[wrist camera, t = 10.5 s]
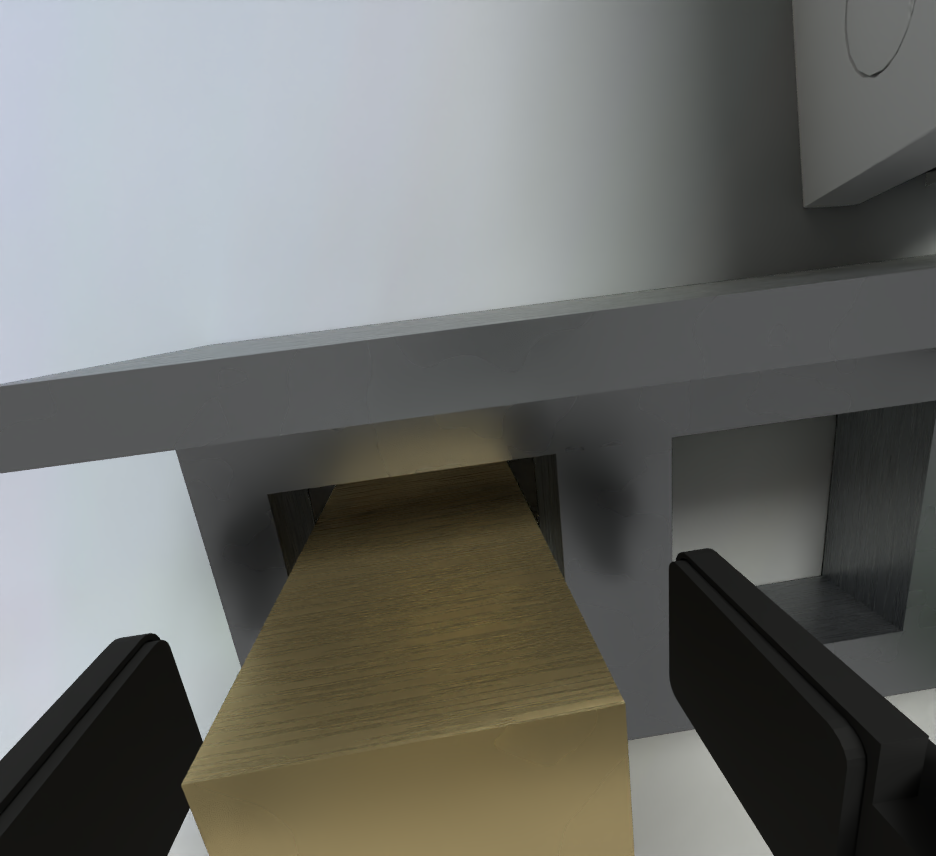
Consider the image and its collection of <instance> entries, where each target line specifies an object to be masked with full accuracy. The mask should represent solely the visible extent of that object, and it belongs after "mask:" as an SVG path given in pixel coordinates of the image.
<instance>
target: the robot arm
mask: <svg viewBox="0 0 936 856" xmlns="http://www.w3.org/2000/svg"><path fill="white" fill-rule="evenodd" d="M669 680H670V685H671V688H672V691H673V693H674V696H675V698H676V700H677V701H678V703H679V704H680V706H681V708H682V709H683V711H684V712H685V714H686V716H687V717H688V719H689V720H690V722H691V724H692V725H693V727H694V728H695V730H696V732H697V733H698V735H699V736H700V738H701V740H702V741H703V743H704V744H705V746H706V748H707V749H708V751H709V752H710V754H711V756H712V757H713V759H714V760H715V762H716V764H717V765H718V767H719V768H720V770H721V772H722V773H723V775H724V776H725V778H726V780H727V781H728V783H729V784H730V786H731V788H732V789H733V791H734V792H735V794H736V796H737V797H738V799H739V800H740V802H741V804H742V805H743V807H744V808H745V810H746V812H747V813H748V815H749V816H750V818H751V820H752V821H753V823H754V824H755V826H756V828H757V829H758V831H759V832H760V834H761V836H762V837H763V839H764V840H765V842H766V844H767V845H768V847H769V848H770V850H771V852H772V853H773V855H774V856H936V745H935V744H934V743H933V742H931V741H930V740H929V739H928V738H929V736H928V735H927V734H926V733H925V732H924V731H922V730H921V729H920V728H919V727H918V726H917V725H915V724H914V723H913V722H912V721H911V720H910V719H909V718H907V717H906V716H905V715H904V714H903V713H902V712H900V711H899V710H898V709H897V708H896V707H895V706H894V705H892V704H891V703H890V702H889V701H888V700H887V699H885V698H884V697H883V696H882V695H881V694H880V693H878V692H877V691H876V690H875V689H874V688H873V687H872V686H870V685H869V684H868V683H867V682H866V681H865V680H863V679H862V678H861V677H860V676H859V675H858V674H857V673H855V672H854V671H853V670H852V669H851V668H850V667H848V666H847V665H846V664H845V663H844V662H843V661H841V660H840V659H839V658H838V657H837V656H836V655H835V654H833V653H832V652H831V651H830V650H829V649H828V648H826V647H825V646H824V645H823V644H822V643H821V642H820V641H818V640H817V639H816V638H815V637H814V636H813V635H811V634H810V633H809V632H808V631H807V630H806V629H804V628H803V627H802V626H801V625H800V624H799V623H798V622H796V621H795V620H794V619H793V618H792V617H791V616H789V615H788V614H787V613H786V612H785V611H784V610H783V609H781V608H780V607H779V606H778V605H777V604H776V603H774V602H773V601H772V600H771V599H770V598H769V597H767V596H766V595H765V594H764V593H763V592H762V591H761V590H759V589H758V588H757V587H756V586H755V585H754V584H752V583H751V582H750V581H749V580H748V579H747V578H746V577H744V576H743V575H742V574H741V573H740V572H739V571H737V570H736V569H735V568H734V567H733V566H732V565H731V564H729V563H728V562H727V561H726V560H725V559H724V558H722V557H721V556H720V555H719V554H718V553H717V552H715V551H714V550H712V549H708V548H707V549H700V550H694V551H687V552H681V553H679V554H678V555H677V558H676V561H675V562H671V563H670V565H669ZM202 744H203V741H202V738H201V735H200V732H199V729H198V726H197V723H196V720H195V718H194V715H193V712H192V709H191V706H190V703H189V700H188V697H187V694H186V692H185V689H184V686H183V683H182V680H181V677H180V674H179V671H178V668H177V666H176V663H175V660H174V657H173V654H172V651H171V648H170V646H169V644H168V643H167V642H166V641H165V640H160V638H159V637H158V636H157V635H156V634H152V633H149V634H143V635H136V636H130V637H123V638H119V639H116V640H114V641H113V642H112V643H111V644H109V646H108V647H107V648H106V649H105V650H104V651H103V652H102V653H101V654H100V655H99V656H98V657H97V658H96V659H95V660H94V662H93V663H92V664H91V665H90V666H89V667H88V668H87V669H86V670H85V671H84V672H83V673H82V674H81V675H80V676H79V678H78V679H77V680H76V681H75V682H74V683H73V684H72V685H71V686H70V687H69V688H68V689H67V690H66V691H65V692H64V693H63V695H62V696H61V697H60V698H59V699H58V700H57V701H56V702H55V703H54V704H53V705H52V706H51V707H50V708H49V709H48V711H47V712H46V713H45V714H44V715H43V716H42V717H41V718H40V719H39V720H38V721H37V722H36V723H35V724H34V725H33V727H32V728H31V729H30V730H29V731H28V732H27V733H26V734H25V735H24V736H23V737H22V738H21V739H20V740H19V741H18V743H17V744H16V745H15V746H14V747H13V748H12V749H11V750H10V751H9V752H8V753H7V754H6V755H5V756H4V757H3V758H2V760H1V761H0V856H167V855H168V853H169V851H170V849H171V847H172V844H173V842H174V840H175V838H176V836H177V834H178V832H179V830H180V828H181V825H182V823H183V821H184V819H185V817H186V815H187V813H188V811H189V809H190V806H189V804H188V801H187V799H186V796H185V794H184V791H183V789H182V786H181V784H182V782H183V780H184V779H185V777H186V775H187V773H188V771H189V769H190V767H191V765H192V763H193V761H194V759H195V757H196V755H197V753H198V751H199V749H200V747H201V746H202Z"/></svg>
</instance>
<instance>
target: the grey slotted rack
mask: <svg viewBox="0 0 936 856" xmlns="http://www.w3.org/2000/svg"><path fill="white" fill-rule="evenodd" d="M835 414H838V416H837V426H836V437H835V447H834V458H833V468H832V478H831V489H830V499H829V510H828V520H827V531H826V541H825V551H824V562H823V572H822V576H817V577H810V578H804V579H797V580H791V581H785V582H778V583H772V584H766V585H759V586H756V587H757V588H758V589H759V590H761V591H762V592H763V593H764V594H765V595H766V596H767V597H769V598H770V599H771V600H772V601H773V602H774V603H776V604H777V605H778V606H779V607H780V608H781V609H783V610H784V611H785V612H786V613H787V614H788V615H789V616H791V617H792V618H793V619H794V620H795V621H796V622H798V623H799V624H800V625H801V626H802V627H803V628H804V629H806V630H807V631H808V632H809V633H810V634H811V635H813V636H814V637H815V638H816V639H817V640H818V641H820V642H821V643H822V644H823V645H824V646H825V647H826V648H828V649H829V650H830V651H831V652H832V653H833V654H835V655H836V656H837V657H838V658H839V659H840V660H841V661H843V662H844V663H845V664H846V665H847V666H848V667H850V668H851V669H852V670H853V671H854V672H855V673H857V674H858V675H859V676H860V677H861V678H862V679H863V680H865V681H866V682H867V683H868V684H869V685H870V686H872V687H873V688H874V689H875V690H876V691H877V692H878V693H880V694H881V695H882V696H883V697H885V696H891V695H897V694H903V693H908V692H914V691H920V690H926V689H932V688H936V254H935V255H927V256H919V257H911V258H903V259H895V260H887V261H879V262H871V263H863V264H855V265H847V266H839V267H831V268H823V269H815V270H807V271H799V272H791V273H783V274H775V275H767V276H759V277H751V278H743V279H735V280H727V281H719V282H711V283H703V284H695V285H687V286H679V287H671V288H663V289H654V290H646V291H638V292H630V293H622V294H614V295H606V296H598V297H590V298H582V299H574V300H566V301H558V302H550V303H542V304H534V305H526V306H518V307H510V308H502V309H494V310H486V311H478V312H470V313H462V314H454V315H446V316H438V317H430V318H422V319H414V320H406V321H398V322H390V323H382V324H374V325H366V326H358V327H350V328H342V329H334V330H326V331H318V332H310V333H302V334H294V335H286V336H278V337H270V338H262V339H254V340H246V341H238V342H230V343H222V344H214V345H207V346H202V347H196V348H191V349H186V350H180V351H175V352H170V353H164V354H159V355H154V356H148V357H143V358H138V359H132V360H127V361H122V362H116V363H111V364H106V365H100V366H95V367H90V368H84V369H79V370H74V371H68V372H63V373H58V374H52V375H47V376H42V377H36V378H31V379H26V380H21V381H15V382H10V383H5V384H0V473H7V472H15V471H22V470H29V469H37V468H44V467H52V466H59V465H67V464H74V463H81V462H89V461H96V460H104V459H111V458H118V457H126V456H133V455H141V454H148V453H156V452H163V451H170V450H176V453H177V456H178V460H179V463H180V466H181V470H182V473H183V476H184V479H185V483H186V486H187V489H188V493H189V496H190V499H191V503H192V506H193V509H194V513H195V516H196V519H197V523H198V526H199V529H200V533H201V536H202V539H203V542H204V546H205V549H206V552H207V556H208V559H209V562H210V566H211V569H212V572H213V576H214V579H215V582H216V586H217V589H218V592H219V596H220V599H221V602H222V605H223V609H224V612H225V615H226V619H227V622H228V625H229V629H230V632H231V635H232V639H233V642H234V645H235V649H236V652H237V655H238V659H239V662H240V665H241V668H242V666H243V664H244V662H245V660H246V658H247V656H248V654H249V652H250V650H251V649H252V647H253V645H254V643H255V641H256V639H257V637H258V635H259V633H260V631H261V629H262V627H263V625H264V623H265V621H266V619H267V617H268V616H269V614H270V612H271V610H272V608H273V606H274V604H275V602H276V600H277V598H278V596H279V594H280V592H281V590H282V588H283V586H284V584H285V583H286V581H287V579H288V577H289V575H290V573H291V571H292V569H293V567H294V565H295V563H296V561H297V559H298V557H299V555H300V553H301V551H302V550H303V548H304V546H305V544H306V542H307V540H308V538H309V536H310V534H311V532H312V530H313V528H314V526H315V520H314V515H313V511H312V507H311V502H310V498H309V493H308V488H315V487H322V486H329V485H337V484H344V483H351V482H358V481H365V480H372V479H379V478H386V477H394V476H401V475H408V474H415V473H422V472H429V471H436V470H443V469H450V468H458V467H465V466H472V465H479V464H486V463H493V462H500V461H507V460H515V459H522V458H529V457H534V465H535V476H536V488H537V500H538V511H539V523H540V531H541V533H542V535H543V537H544V539H545V541H546V543H547V545H548V547H549V549H550V551H551V553H552V555H553V557H554V559H555V561H556V563H557V565H558V567H559V569H560V572H561V574H562V576H563V578H564V580H565V582H566V584H567V586H568V588H569V590H570V592H571V594H572V596H573V598H574V600H575V602H576V604H577V606H578V608H579V610H580V612H581V614H582V616H583V618H584V620H585V623H586V625H587V627H588V629H589V631H590V633H591V635H592V637H593V639H594V641H595V643H596V645H597V647H598V649H599V651H600V653H601V655H602V657H603V659H604V661H605V663H606V665H607V667H608V669H609V671H610V674H611V676H612V678H613V680H614V682H615V684H616V686H617V688H618V690H619V692H620V694H621V696H622V698H623V700H624V702H625V705H626V722H627V739H628V740H633V739H639V738H645V737H651V736H657V735H663V734H669V733H674V732H680V731H686V730H692V729H695V728H694V727H693V725H692V724H691V722H690V720H689V719H688V717H687V716H686V714H685V712H684V711H683V709H682V708H681V706H680V704H679V703H678V701H677V700H676V698H675V696H674V693H673V691H672V688H671V685H670V680H669V565H670V563H671V562H672V437H678V436H686V435H693V434H700V433H707V432H714V431H721V430H728V429H735V428H743V427H750V426H757V425H764V424H771V423H778V422H785V421H792V420H800V419H807V418H814V417H821V416H828V415H835Z"/></svg>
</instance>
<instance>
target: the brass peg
mask: <svg viewBox="0 0 936 856" xmlns="http://www.w3.org/2000/svg"><path fill="white" fill-rule="evenodd" d="M181 786H182V789H183V791H184V794H185V796H186V799H187V801H188V804H189V806H190V809H191V811H192V814H193V816H194V819H195V821H196V824H197V826H198V829H199V831H200V834H201V836H202V839H203V841H204V844H205V846H206V849H207V851H208V853H209V856H634V841H633V824H632V807H631V790H630V773H629V756H628V739H627V722H626V705H625V702H624V700H623V698H622V696H621V694H620V692H619V690H618V688H617V686H616V684H615V682H614V680H613V678H612V676H611V674H610V671H609V669H608V667H607V665H606V663H605V661H604V659H603V657H602V655H601V653H600V651H599V649H598V647H597V645H596V643H595V641H594V639H593V637H592V635H591V633H590V631H589V629H588V627H587V625H586V623H585V620H584V618H583V616H582V614H581V612H580V610H579V608H578V606H577V604H576V602H575V600H574V598H573V596H572V594H571V592H570V590H569V588H568V586H567V584H566V582H565V580H564V578H563V576H562V574H561V572H560V569H559V567H558V565H557V563H556V561H555V559H554V557H553V555H552V553H551V551H550V549H549V547H548V545H547V543H546V541H545V539H544V537H543V535H542V533H541V531H540V529H539V527H538V525H537V523H536V520H535V518H534V516H533V514H532V512H531V510H530V508H529V506H528V504H527V502H526V500H525V498H524V496H523V494H522V492H521V490H520V488H519V486H518V484H517V482H516V480H515V478H514V476H513V474H512V472H511V469H510V467H509V465H508V463H507V461H500V462H493V463H486V464H479V465H472V466H465V467H458V468H450V469H443V470H436V471H429V472H422V473H415V474H408V475H401V476H394V477H386V478H379V479H372V480H365V481H358V482H351V483H344V484H337V485H336V486H335V487H334V489H333V491H332V493H331V495H330V497H329V499H328V501H327V503H326V505H325V507H324V509H323V511H322V513H321V515H320V517H319V519H318V520H317V522H316V524H315V526H314V528H313V530H312V532H311V534H310V536H309V538H308V540H307V542H306V544H305V546H304V548H303V550H302V551H301V553H300V555H299V557H298V559H297V561H296V563H295V565H294V567H293V569H292V571H291V573H290V575H289V577H288V579H287V581H286V583H285V584H284V586H283V588H282V590H281V592H280V594H279V596H278V598H277V600H276V602H275V604H274V606H273V608H272V610H271V612H270V614H269V616H268V617H267V619H266V621H265V623H264V625H263V627H262V629H261V631H260V633H259V635H258V637H257V639H256V641H255V643H254V645H253V647H252V649H251V650H250V652H249V654H248V656H247V658H246V660H245V662H244V664H243V666H242V668H241V670H240V672H239V674H238V676H237V678H236V680H235V681H234V683H233V685H232V687H231V689H230V691H229V693H228V695H227V697H226V699H225V701H224V703H223V705H222V707H221V709H220V711H219V713H218V714H217V716H216V718H215V720H214V722H213V724H212V726H211V728H210V730H209V732H208V734H207V736H206V738H205V740H204V742H203V744H202V746H201V747H200V749H199V751H198V753H197V755H196V757H195V759H194V761H193V763H192V765H191V767H190V769H189V771H188V773H187V775H186V777H185V779H184V780H183V782H182V784H181Z"/></svg>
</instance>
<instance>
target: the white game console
mask: <svg viewBox="0 0 936 856" xmlns="http://www.w3.org/2000/svg"><path fill="white" fill-rule="evenodd" d="M792 12H793V30H794V47H795V65H796V83H797V100H798V118H799V136H800V153H801V171H802V189H803V206H804V208H822V207H835V206H848V205H858V204H860V203H862V202H864V201H866V200H868V199H870V198H872V197H874V196H876V195H879V194H881V193H883V192H885V191H887V190H889V189H891V188H893V187H895V186H897V185H899V184H902V183H904V182H906V181H908V180H910V179H912V178H914V177H916V176H918V175H920V174H924V173H926V187H927V186H929V185H931V184H934V183H936V0H792Z"/></svg>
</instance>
